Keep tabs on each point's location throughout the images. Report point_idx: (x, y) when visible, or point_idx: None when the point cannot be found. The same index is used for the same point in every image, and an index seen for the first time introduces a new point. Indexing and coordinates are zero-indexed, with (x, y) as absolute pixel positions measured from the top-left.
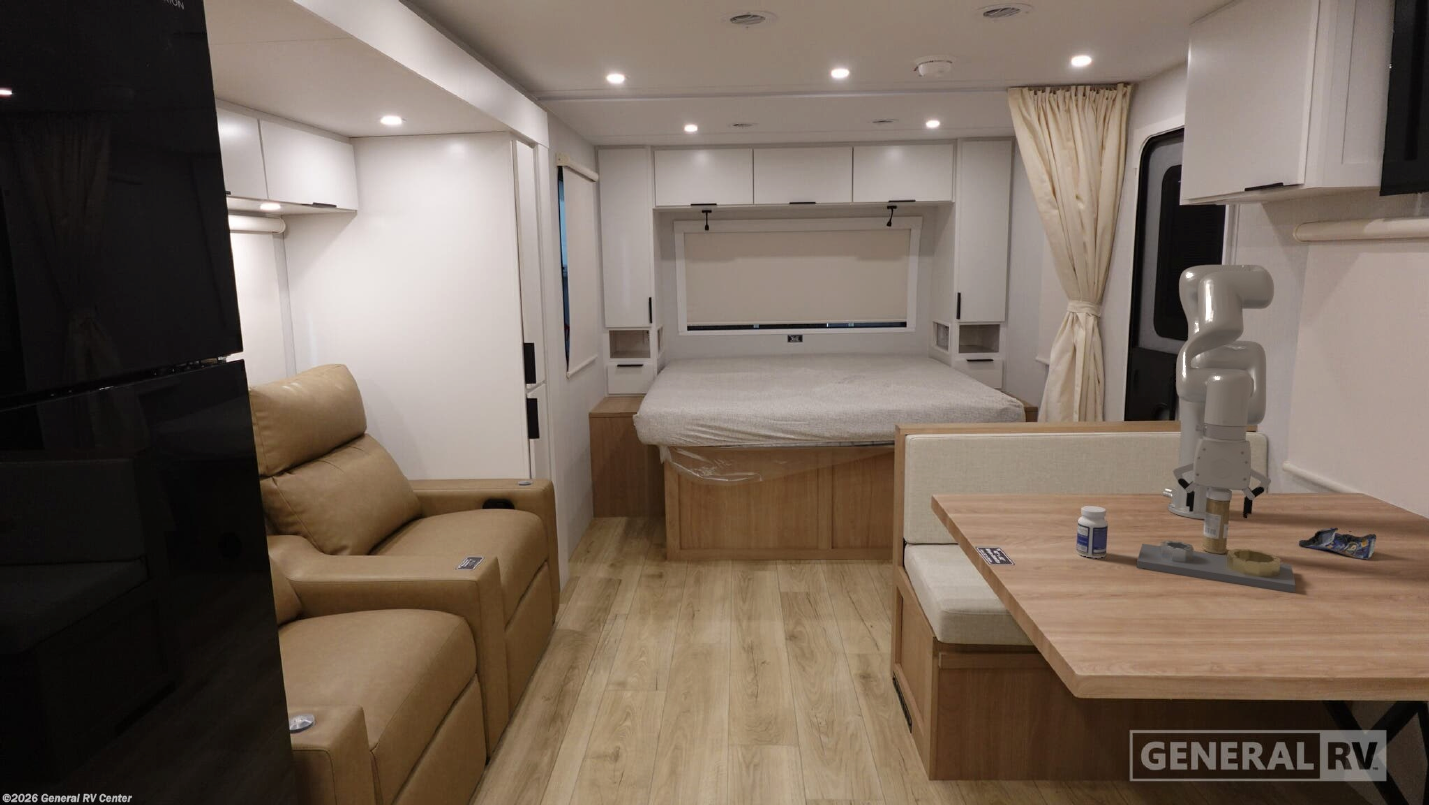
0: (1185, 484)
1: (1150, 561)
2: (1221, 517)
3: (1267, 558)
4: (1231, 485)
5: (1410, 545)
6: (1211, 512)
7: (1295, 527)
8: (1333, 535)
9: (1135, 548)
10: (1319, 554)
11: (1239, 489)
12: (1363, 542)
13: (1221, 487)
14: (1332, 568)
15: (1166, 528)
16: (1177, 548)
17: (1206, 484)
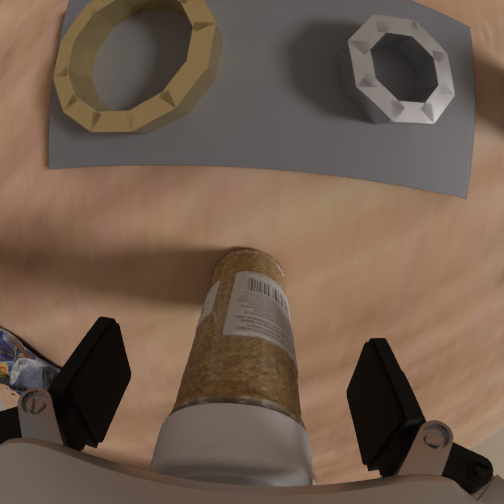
0: (454, 466)
1: (444, 23)
2: (221, 327)
3: (86, 100)
4: (99, 494)
5: (4, 397)
6: (273, 348)
7: (116, 453)
8: (16, 372)
9: (464, 208)
10: (45, 339)
11: (51, 445)
12: (5, 372)
13: (205, 489)
14: (11, 253)
15: (347, 407)
16: (402, 28)
17: (366, 499)
